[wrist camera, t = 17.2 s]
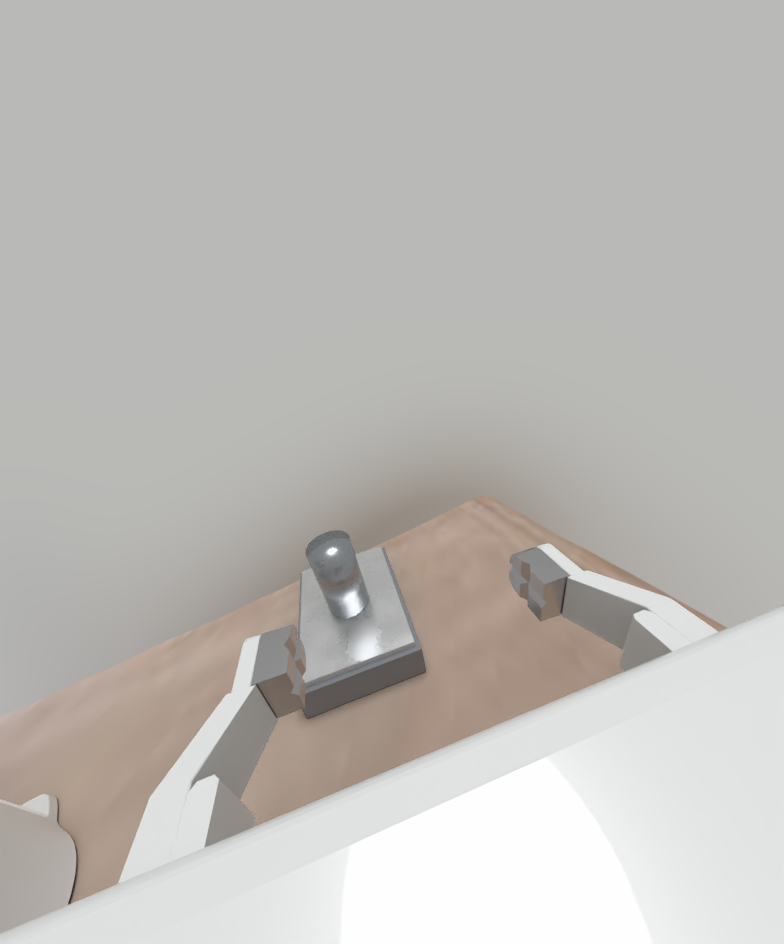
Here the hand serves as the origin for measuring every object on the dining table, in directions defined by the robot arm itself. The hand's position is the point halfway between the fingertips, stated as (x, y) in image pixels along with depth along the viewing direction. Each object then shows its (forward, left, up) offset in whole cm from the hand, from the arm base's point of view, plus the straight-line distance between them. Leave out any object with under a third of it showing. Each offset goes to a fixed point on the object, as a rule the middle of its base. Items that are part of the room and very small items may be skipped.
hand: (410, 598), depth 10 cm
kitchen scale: (-5, +20, -25) cm, 32 cm away
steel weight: (-5, +20, -20) cm, 28 cm away
